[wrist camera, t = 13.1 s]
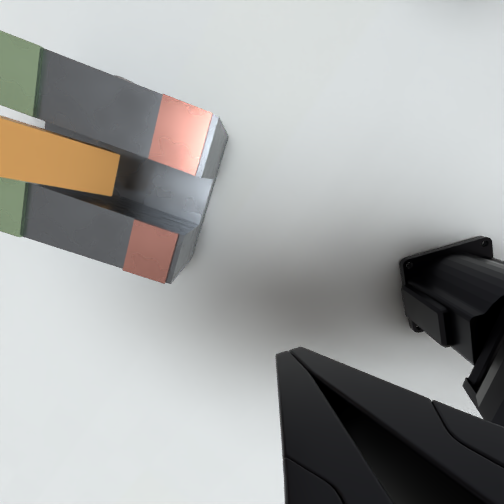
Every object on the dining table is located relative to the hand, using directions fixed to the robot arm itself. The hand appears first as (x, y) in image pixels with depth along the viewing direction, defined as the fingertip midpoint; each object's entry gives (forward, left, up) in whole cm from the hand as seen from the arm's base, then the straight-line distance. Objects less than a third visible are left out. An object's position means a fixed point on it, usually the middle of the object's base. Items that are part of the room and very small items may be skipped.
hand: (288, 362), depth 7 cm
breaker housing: (+7, -8, -12) cm, 16 cm away
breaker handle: (+7, -8, -9) cm, 14 cm away
